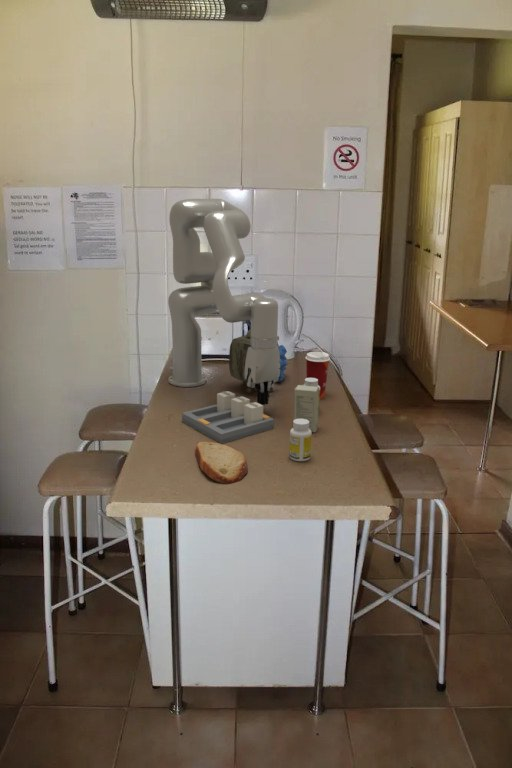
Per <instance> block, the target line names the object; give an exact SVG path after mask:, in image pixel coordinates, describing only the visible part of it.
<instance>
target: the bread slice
mask: <svg viewBox="0 0 512 768" xmlns="http://www.w3.org/2000/svg"><path fill="white" fill-rule="evenodd" d="M194 452H195V454H194V455H195V458H196V460H197V463H198V465H199V467H200V468H199V469H200V470H201V471H202V472H203V473H204V474H205V475H206V476H207V477H208V478H210V479H212V481H215V482H217V483H221V484H224V485H231V484H235V483H238V482H241V481H242V480H243V478H244V476H246V474H247V473H248V472H249V471H248V470H249V469H248V468H249V467H248V463H247V459H246V456H245V455H244V454H243V453H242V452H241V451H239V450H236V449H234V448H233V447H231V446H230V445H227V444H224V443H222V444H221V443H219V442H215V441H214V442H213V441H199V442H198V443H197V445H196V448H195V450H194Z"/></svg>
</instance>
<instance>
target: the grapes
mask: <svg viewBox="0 0 512 768" xmlns="http://www.w3.org/2000/svg"><path fill="white" fill-rule="evenodd" d="M287 352H288V351H287V349H286V347H285V346H284V345H283V344H281V345H279V354H280V376H279V377H278V381H277V383H280V382H282V381H283V380H284V379H285V377H286V375H285V373H284V372H285V370H287V365H288V362H287V357H286V354H287Z"/></svg>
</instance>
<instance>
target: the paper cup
mask: <svg viewBox="0 0 512 768" xmlns="http://www.w3.org/2000/svg"><path fill="white" fill-rule="evenodd" d="M305 360H306V364H305V365H306V378H316V379H318V385H319V386H320V400H322V399H325V395H326V389H327V388H326V387H327V381H328V379H327V378H328V371H329V361H331V357H330V355H329V353H327V352H324V351H310V352H307V353H306V356H305Z"/></svg>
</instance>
